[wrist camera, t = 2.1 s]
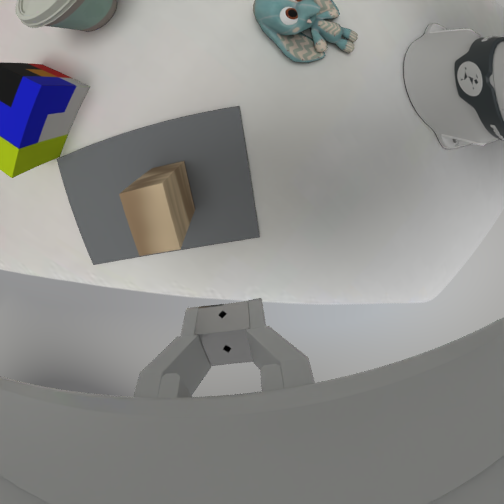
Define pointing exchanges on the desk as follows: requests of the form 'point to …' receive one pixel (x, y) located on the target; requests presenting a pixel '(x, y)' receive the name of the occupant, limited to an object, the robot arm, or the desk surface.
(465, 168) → the desk surface
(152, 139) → the mat
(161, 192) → the oak block
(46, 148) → the puzzle toy
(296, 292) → the desk surface
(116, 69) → the desk surface
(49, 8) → the coffee cup
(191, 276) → the desk surface
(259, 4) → the stuffed animal
